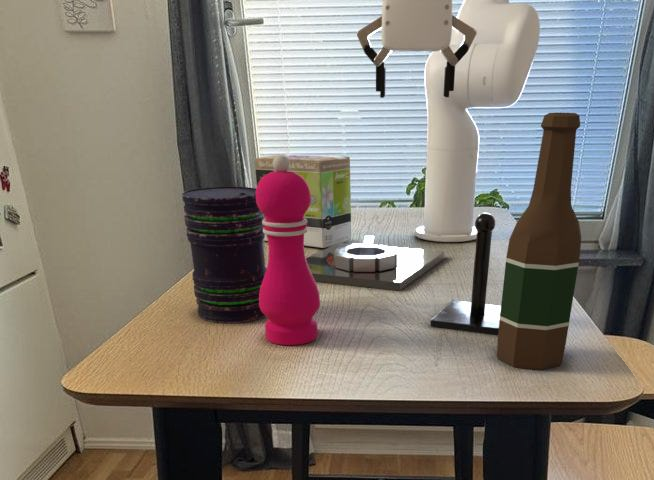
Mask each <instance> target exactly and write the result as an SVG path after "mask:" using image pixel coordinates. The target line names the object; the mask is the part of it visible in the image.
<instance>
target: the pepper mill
mask: <svg viewBox="0 0 654 480" xmlns="http://www.w3.org/2000/svg"><path fill="white" fill-rule="evenodd" d="M276 155H277V156H276V157H275V158H274V160H273V167H274V169H275V170H276V171H274V172H271V173H268V174H267V175H265V176H264V177H263V178H262V179H261V180H260V181H259V183H258V185H257V184H256V204H257V206H258V208H259V209H260V211H261V212H262V213H263V214H264V216H265V218H266V219H264V220H263V221H262V224H263V225H264V226H263V227H264V229H263V233H265V234H266V235H267V239H268V241H267V244H268V260H267V265H266V268H267V269H266V273H265V276H264V278H263V281H262V284H261V287H260V293H259V307H260V309H261V311H262V312H263V314H264V315H265V316H264V317H266V318H267V319H268V320H267V321H265V322H264V323H265V324H264V328H265V329H264V331H265V338H266V340H267V341H268V342H270V343H272V344H274V345H280V346H297V345H298V346H299V345H305V344H308V343H311V342H313V341H315V340H316V339H317V337H318V321H317V320H316V319H314V318H313V317H314V316H315V315H316V314H317V312H318V311H319V309H320V306H321V298H320V291H319V287H318V284H317V282H316V281H315V280H314V278H313V276H312V273H311V271H310V269H309V266H308V264H307V261H306V258H307V257H306V252H305V245H304V233H306V232H307V231H308V229H307V227H306V226H307V225H306V223H307V219H306V218H304V214H305V212H306V211H307V210H308V208H309V206H310V202H311V194H310V189H309V186H308V184H307V182H306V181H305V179H304V178H303V177H301V176H300V175H299V174H297V173H294V172H291V171H287V170H288V169H289V166H290V163H289V160H288V158H287V157H286V156H284V154H276Z"/></svg>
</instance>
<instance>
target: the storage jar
mask: <svg viewBox="0 0 654 480" xmlns="http://www.w3.org/2000/svg"><path fill="white" fill-rule="evenodd" d="M256 188H257V187H256ZM256 188H255V187H249V186H211V187H201V188H194V189H188V190H186V191H183V192H182V193H181V198H182V202H183V204H184V205H183V212H184V214H185V215H184V216H183V218H184V224H185V227H186V237H187V241H188V243H189V244H190V250H191V257H192V265H193V271H192V282H193V293H194V297H195V298H196V299H195V303H196V304H197V306H198V308H197V315H198V317H199V318H200V319H201V320H204V321H207V322H211V323H217V324H218V323H219V324H238V323H248V322H253V321H257V320H259V319H262V318H265V317H266V316H265V315H264V314H263V312H262V311H261V309H260V307H259V293H260V287H261V284H262V281H263V278H264V276H265V273H266V269H267V266H266V259H265V245H264V240H263V239H264V238H265V233H263V229H264V227H263V226H264V225H263V224H262V221H263V220H264V214H263V213H262V212H261V211H260V209H259V208H258V206H257V204H256Z"/></svg>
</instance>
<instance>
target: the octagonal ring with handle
mask: <svg viewBox="0 0 654 480" xmlns="http://www.w3.org/2000/svg"><path fill="white" fill-rule="evenodd" d="M357 244H358V245H357V246H356V245H350V246H345V247H340V248H338V249H335V252H334V266H335V267H336V268H339V269H343V270H346V271H352V270H353V272H375V270H376V271H384V270H388V269H392V268H395V267H397V254H398V250H397V249H396V248H393V247H394V246H388V245H384V244H379V245H378V244H375V236H374V235H365V236H364V238H363V241H362V243H357Z"/></svg>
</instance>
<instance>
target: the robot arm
mask: <svg viewBox="0 0 654 480" xmlns="http://www.w3.org/2000/svg"><path fill="white" fill-rule="evenodd" d="M381 6H382V8H381V16H379V17H378V18H376V19H375V20H373V21H372V22H371V23H368V24H367V25H365V26H364V27H362V28H360V29H359V30H358V31H357V33H356V37H357V39H358V41H359V43H360V45H361V48H362V51H363V52H364V54H365V55H366V57H367V58H368V59H369V60H370V61H371V62H372V64H373V65H374V66H375V92H379V99H380V98H381V99H384V98H385V97H386V92H387V91H386V88H387V87H386V86H387V84H386V81H387V78H386V77H387V75H386V74H387V68H386V67H385V61H386V60H387V59H388V57H389V55H390V54H391V53H392V52H393V53H414V52H415V53H417V52H418V53H421V52H422V53H423V52H424V53H425V52H427V53H428V52H431V53H430V54H429V55H428V57H427V59H426V61H425V65H424V76H423V77H424V90H425V98H426V100H425V101H426V110H427V131H426V132H427V133H426V136H427V138H426V160H425V161H426V162H425V185H424V210H423V212H424V213H423V225H421V226H419V227H417V228H416V229H415V237H416V238H418V239H421V240H424V241H428V242H439V243H461V242H469V241H475V240H476V236H477V230H476V228H475V226H474V214H475V202H476V189H477V178H478V177H477V176H478V175H477V174H478V162H479V150H480V133H479V130H478V127H477V125H476V122H475V121H474V119H473V117H472V116H471V114H470V112H469V111H468V109H502V108H503V109H504V108H509V107H512V106H514V105H515V104H516V103H517V102H518V101H519V99H520V98H521V96H522V93H523V91H524V89H525V86H526V83H527V80H528V78H529V75H530V72H531V69H532V66H533V63H534V60H535V58H536V54H537V51H538V46H539V42H540V33H541V32H540V31H541V24H540V23H541V22H540V17H539V14H538V11H537V10H536V9H535V8H534V7H533V6H532V5H531V4H527V3H510V0H463V1H462V4H461V5H460V8H459V10H458V13H457V16H455V15H453V0H382V5H381ZM379 30H381V45H382V47H381V49H380V51H379V52H378V53H377V51H376V50H374V48H373V47H372V44H371V42H370V40H369V38H370V36H372V35H373V34H375V33H376V32H378V31H379Z"/></svg>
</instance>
